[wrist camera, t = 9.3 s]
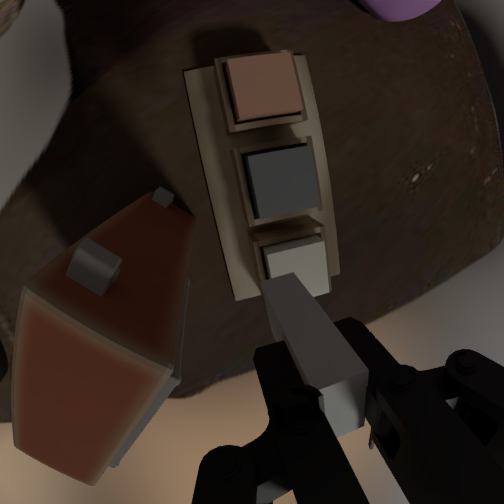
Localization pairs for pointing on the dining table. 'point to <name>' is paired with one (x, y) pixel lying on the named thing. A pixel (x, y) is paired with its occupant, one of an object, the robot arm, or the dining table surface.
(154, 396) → the terracotta and grey box
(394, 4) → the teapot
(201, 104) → the keypad board
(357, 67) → the dining table surface
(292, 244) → the ivory key
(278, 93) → the terracotta key
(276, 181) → the graphite key
